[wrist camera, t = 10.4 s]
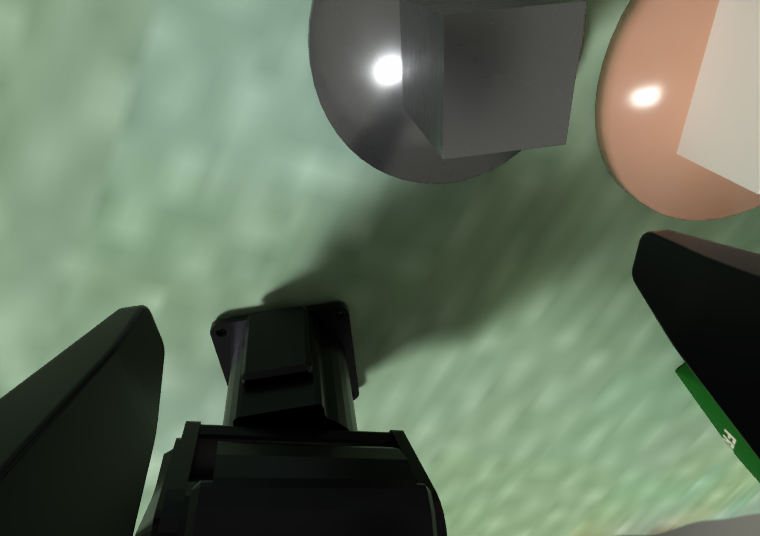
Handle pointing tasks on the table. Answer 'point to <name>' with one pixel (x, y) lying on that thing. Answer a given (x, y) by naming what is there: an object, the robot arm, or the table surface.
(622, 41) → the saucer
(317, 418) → the robot arm
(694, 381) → the milk carton
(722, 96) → the cream colored cube
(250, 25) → the table surface
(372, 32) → the grey rounded piece
